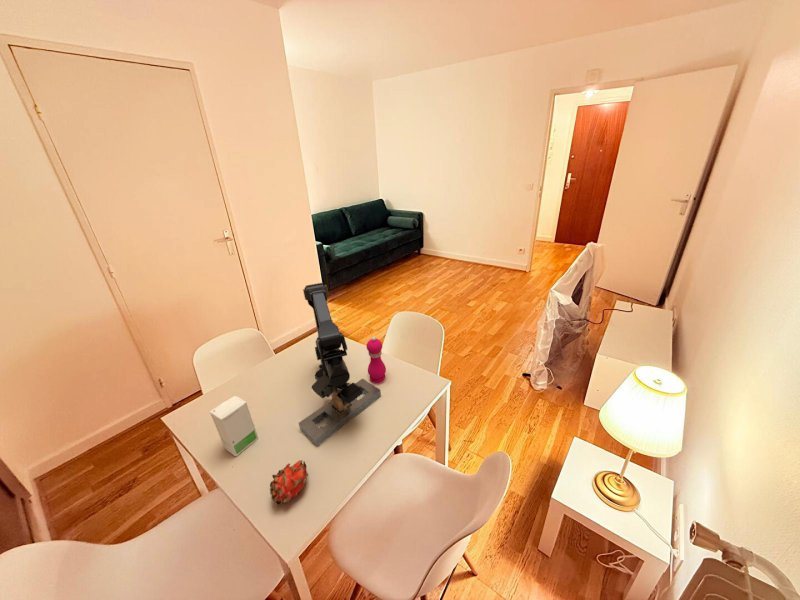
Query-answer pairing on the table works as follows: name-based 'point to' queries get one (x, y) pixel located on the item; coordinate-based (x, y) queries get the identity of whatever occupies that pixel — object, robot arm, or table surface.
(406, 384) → the table surface
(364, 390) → the grey peg hole board
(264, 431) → the table surface
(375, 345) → the pepper mill
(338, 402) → the walnut peg
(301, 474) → the dragon fruit
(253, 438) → the skincare box
